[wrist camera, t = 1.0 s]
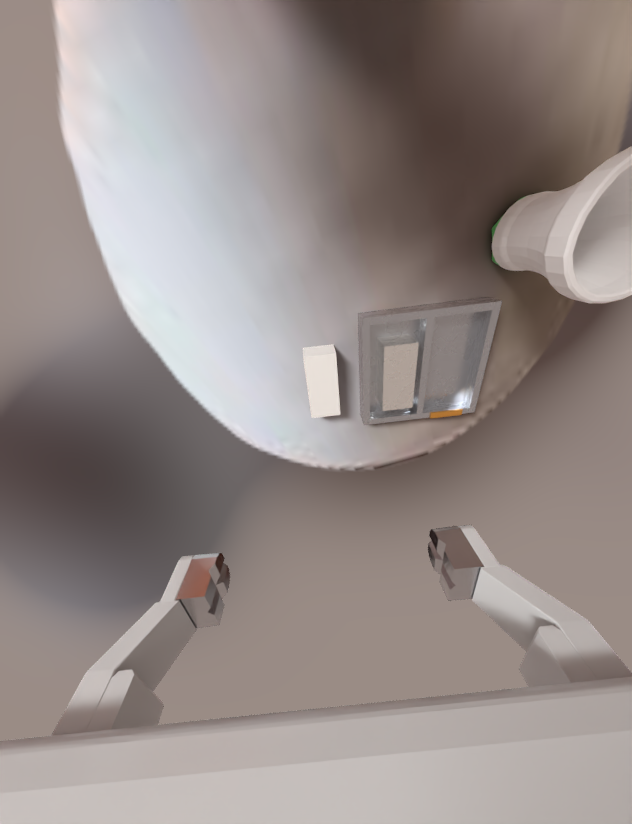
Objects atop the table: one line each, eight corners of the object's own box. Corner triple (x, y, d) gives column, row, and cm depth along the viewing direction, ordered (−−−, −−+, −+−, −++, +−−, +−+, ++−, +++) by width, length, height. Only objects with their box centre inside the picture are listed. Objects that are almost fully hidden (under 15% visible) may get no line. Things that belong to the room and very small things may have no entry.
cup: (530, 291, 37) (642, 314, 25) (456, 275, 35) (536, 292, 23) (587, 186, 31) (771, 150, 19) (501, 163, 29) (640, 107, 17)
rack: (358, 313, 37) (365, 321, 33) (488, 297, 37) (511, 303, 33) (360, 416, 46) (366, 433, 42) (464, 404, 46) (480, 419, 42)
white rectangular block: (302, 347, 40) (303, 357, 36) (333, 343, 40) (336, 353, 36) (310, 405, 45) (311, 418, 42) (337, 401, 45) (340, 414, 41)
